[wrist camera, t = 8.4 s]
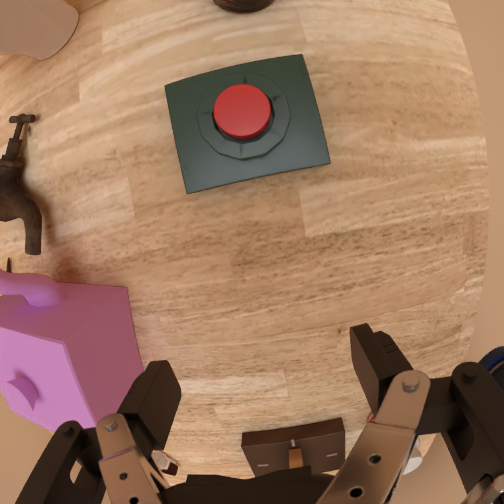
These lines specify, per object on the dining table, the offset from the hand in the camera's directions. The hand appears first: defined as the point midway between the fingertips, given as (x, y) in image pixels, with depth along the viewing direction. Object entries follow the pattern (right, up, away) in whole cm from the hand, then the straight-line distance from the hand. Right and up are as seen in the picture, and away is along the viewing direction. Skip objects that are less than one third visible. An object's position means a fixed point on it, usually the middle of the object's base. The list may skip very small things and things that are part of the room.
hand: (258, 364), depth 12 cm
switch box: (-1, +16, +12) cm, 20 cm away
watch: (-15, -28, +24) cm, 40 cm away
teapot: (-21, -4, +18) cm, 28 cm away
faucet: (-29, +14, +14) cm, 35 cm away
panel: (+6, -22, +21) cm, 32 cm away
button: (-1, +15, +8) cm, 17 cm away
